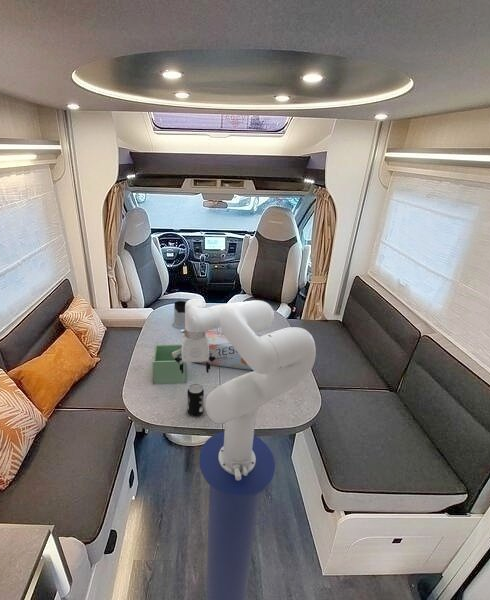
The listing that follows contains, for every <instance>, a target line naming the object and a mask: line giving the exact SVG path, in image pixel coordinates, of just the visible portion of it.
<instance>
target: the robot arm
mask: <svg viewBox="0 0 490 600" xmlns="http://www.w3.org/2000/svg"><path fill="white" fill-rule="evenodd" d="M185 302H186V304H185V328H182V329H180V333H181V334H183V335H182V340H181V344H182V348H181V349H178V350H176V351H174V352H172V356H173V358H174V359H175V361H177V362H178V363H179V365H180V370H181V371H182V373H183V362H185V363H194V362H204V361H206V364H205V371H206V373H207V374H209V370H211V365H210V364H211V362H212V361H213V360H215V358H216V356H217V355H218V351H216V350H213V349H211V348H209V341H208V336H207V334H206V331H213V330H214V329H218V328H220V330H221V332H223V334H224V335H225V337H226V338H227V340H228V341H229V342H230V344H231V345H232V346H233V347H234V348H235V350H236V351H237V352H238V353H239V354H240V356H241V357H242V358H243V359H244V361H245V362H246V363H247V364H248V366H249V367H250V368H251V369H253V370H254V371H253V370H252V371H250V372H246V373H244V374H241V375H239V376H236V377H234V378H231V379H229V380H226V381H225V382H223V383H221V384H220V385H218V386H217V387H216V388H214V389H213V390H212V391H210V392H209V393H208V394H207V396H206V397H205V403H204V406H205V407H204V408H205V411H206V414H207V416H208V418H209V419H210V420H211V421H212V422H214V423H216V424H218V425H223V424H224V431H225V432H224V446H223V447H222V448H221V449H220V452H219V463H220V465H221V467H222V468H223V469H224V470H225V471H226V472H228V473H230V474H233V475H235V479H236V480H241V475H244V476H247V475H248V473H249V472H251V471H252V470H253V468H254V466H255V462H256V457H255V454H254V452H253V450H252V446H253V437H254V435H255V428H256V420H257V414H258V411H259V409H260V408H261V407H263V406H264V405H266V404H267V403H268V402H270V401H271V400H273V399H275V398H277V397H279V396H281V395H283V394H285V393H287V392H289V391H291V390H292V389H294V388H295V387H297V386H298V385H299V384H301V383H302V382H303V381H305V379H306V378H307V377H308V376H309V374H310V373H311V371H312V369H313V367H314V364H315V361H316V356H317V348H316V341H315V340H314V339H315V338H314V337H313V336H312V334H311V333H310V332H309V331H308V330H307V329H305V328H302V327H297V326H293V327H289V326H288V327H284V328H281V329H278V330H275V331H274V330H273V331H271V332H268V333H266V334H263V335H260V336H259V335H257V334H259V333H263V332H265V331H266V330H267V329H269V328H270V327H271V326H272V324H273V323H274V320H275V312H274V309H273V307H272V306H271V305H270V304H269V303H268V302H266V301H264V300H260V299H259V300H258V299H257V300H256V299H255V300H254V299H253V300H245V301H238V302H237V301H236V302H228V303H221V304H216V305H212V306H207V303H206V301H205V300H203V299H201V298H190V299H189V300H187V301H185ZM209 352H210V353H212V354H213V355H212V356H211V357H209ZM180 353H182V356H181V357H180V358H179V357H178V356H177V355H178V354H180Z"/></svg>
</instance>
